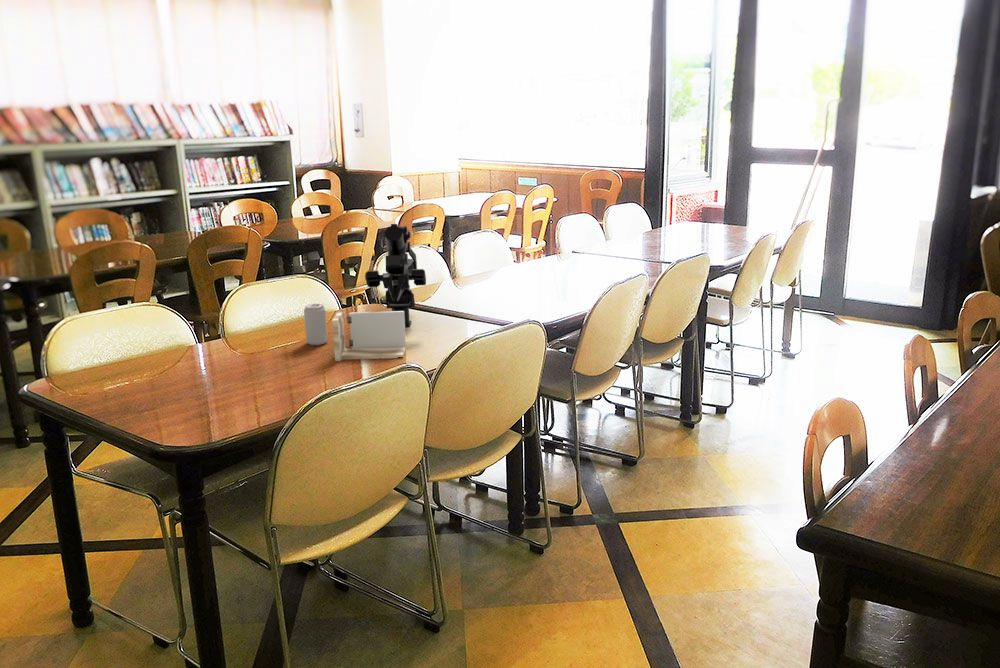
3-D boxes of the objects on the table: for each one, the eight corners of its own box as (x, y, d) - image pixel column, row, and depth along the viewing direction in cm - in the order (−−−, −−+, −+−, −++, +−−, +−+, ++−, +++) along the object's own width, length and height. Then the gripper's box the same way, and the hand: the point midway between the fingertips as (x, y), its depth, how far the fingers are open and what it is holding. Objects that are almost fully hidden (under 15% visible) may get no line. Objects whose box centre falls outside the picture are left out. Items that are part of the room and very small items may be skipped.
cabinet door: (349, 348, 239) (347, 312, 236) (406, 346, 240) (404, 310, 237) (348, 349, 238) (346, 313, 235) (405, 347, 239) (403, 312, 236)
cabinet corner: (340, 351, 238) (337, 312, 235) (405, 349, 239) (403, 310, 236) (335, 361, 229) (332, 320, 225) (402, 359, 229) (400, 318, 226)
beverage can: (330, 340, 250) (327, 303, 247) (324, 346, 244) (321, 307, 241) (310, 340, 251) (307, 302, 247) (303, 346, 244) (300, 307, 241)
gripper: (363, 245, 251) (361, 287, 243) (423, 243, 251) (422, 285, 243) (369, 265, 260) (366, 306, 253) (426, 263, 260) (425, 304, 253)
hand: (395, 300), depth 250 cm, fingers closed
